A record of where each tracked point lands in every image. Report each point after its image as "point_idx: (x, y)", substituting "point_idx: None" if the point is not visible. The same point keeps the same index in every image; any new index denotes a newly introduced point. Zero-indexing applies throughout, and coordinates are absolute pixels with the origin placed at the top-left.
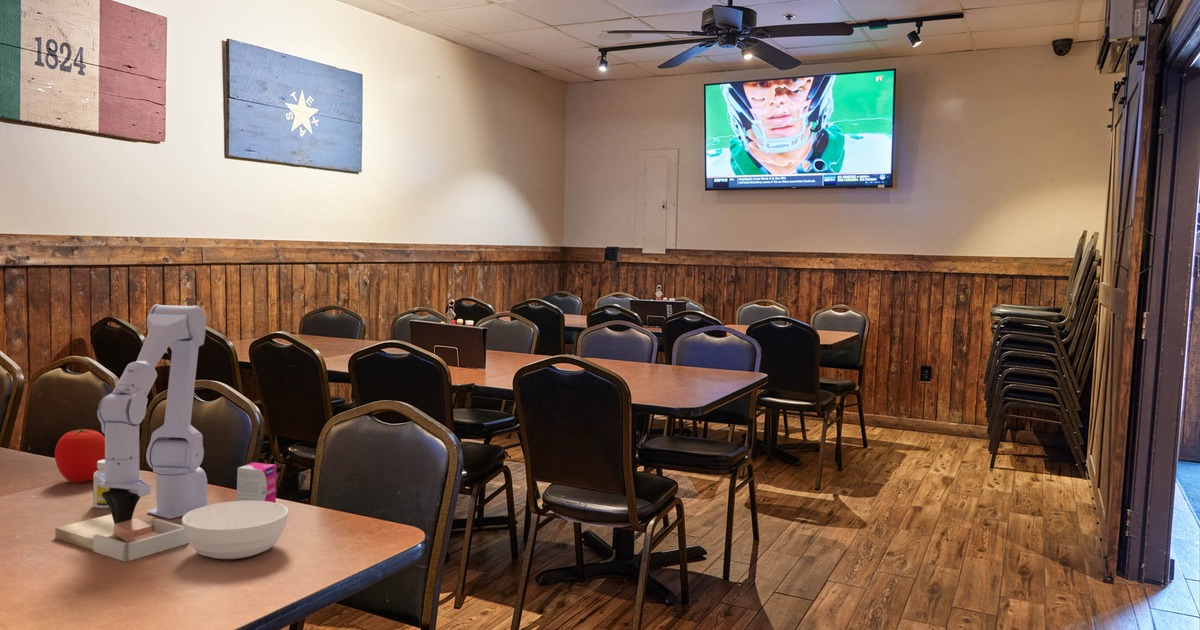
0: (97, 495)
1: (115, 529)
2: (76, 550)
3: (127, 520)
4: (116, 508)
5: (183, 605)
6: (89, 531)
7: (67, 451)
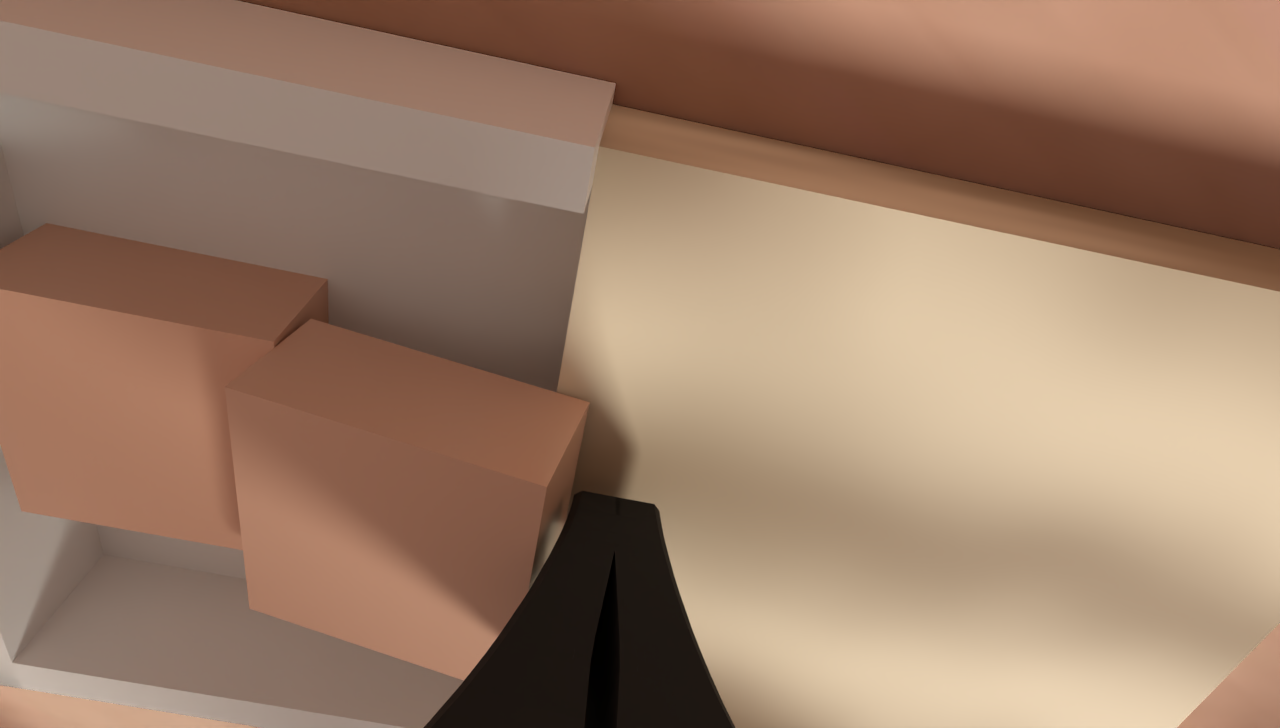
0: None
1: (536, 432)
2: (856, 34)
3: None
4: (502, 706)
5: None
6: (964, 385)
7: None
